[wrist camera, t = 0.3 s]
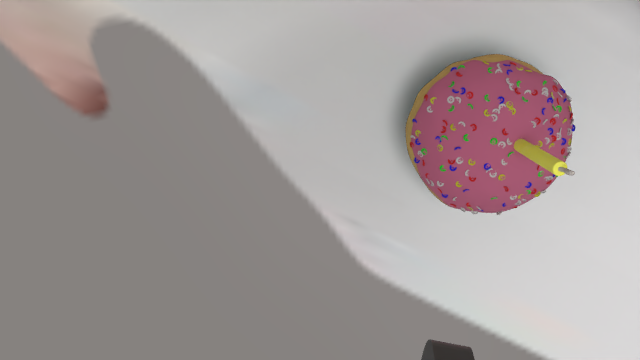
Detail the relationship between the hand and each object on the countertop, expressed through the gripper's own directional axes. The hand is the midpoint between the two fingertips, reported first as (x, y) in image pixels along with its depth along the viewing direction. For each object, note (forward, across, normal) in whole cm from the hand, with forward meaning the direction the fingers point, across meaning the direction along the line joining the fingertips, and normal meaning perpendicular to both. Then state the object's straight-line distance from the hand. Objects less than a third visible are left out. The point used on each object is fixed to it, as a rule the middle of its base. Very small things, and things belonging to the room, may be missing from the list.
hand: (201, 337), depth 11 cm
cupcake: (+27, -10, +1) cm, 29 cm away
